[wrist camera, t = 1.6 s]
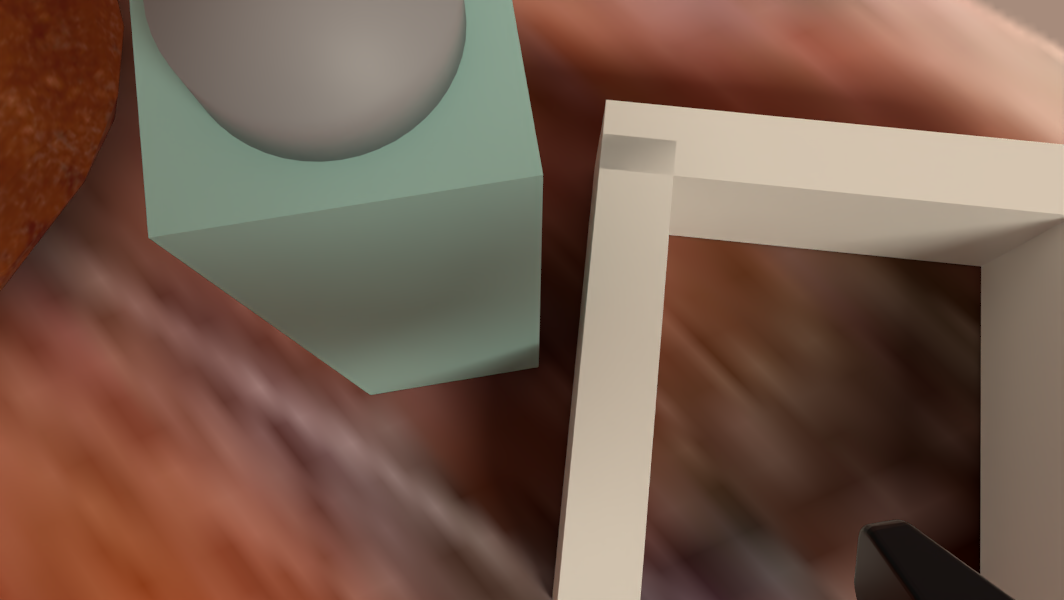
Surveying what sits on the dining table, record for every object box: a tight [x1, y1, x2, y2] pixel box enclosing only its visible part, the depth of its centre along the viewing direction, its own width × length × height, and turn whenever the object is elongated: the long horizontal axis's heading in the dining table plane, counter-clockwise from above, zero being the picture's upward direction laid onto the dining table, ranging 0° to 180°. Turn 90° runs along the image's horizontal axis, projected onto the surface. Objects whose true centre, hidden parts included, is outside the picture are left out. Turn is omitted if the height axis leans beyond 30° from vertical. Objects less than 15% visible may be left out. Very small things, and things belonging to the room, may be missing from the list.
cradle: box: [552, 100, 1064, 600], centre depth 20 cm, size 10×11×4 cm
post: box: [129, 0, 543, 395], centre depth 16 cm, size 4×4×14 cm
